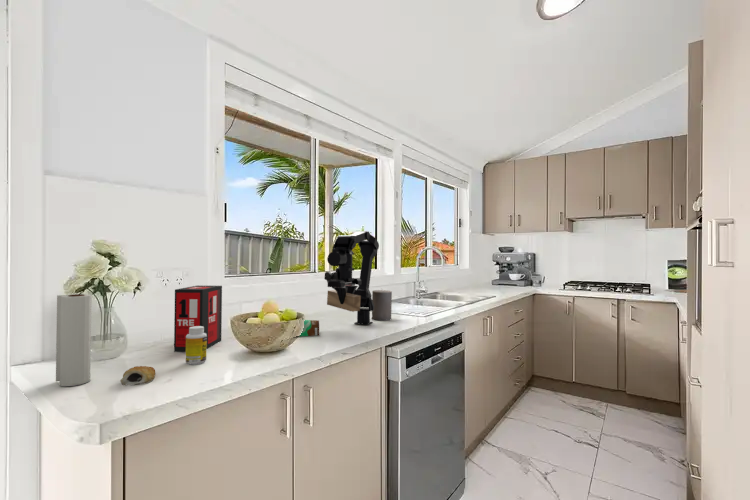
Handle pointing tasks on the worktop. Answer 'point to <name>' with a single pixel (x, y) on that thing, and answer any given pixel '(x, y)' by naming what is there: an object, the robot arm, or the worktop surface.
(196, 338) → the supplement bottle
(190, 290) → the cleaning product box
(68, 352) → the grey tall cylinder
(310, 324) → the food container
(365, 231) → the robot arm
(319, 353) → the worktop surface
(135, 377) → the pastry
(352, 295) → the block
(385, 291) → the pillar candle
